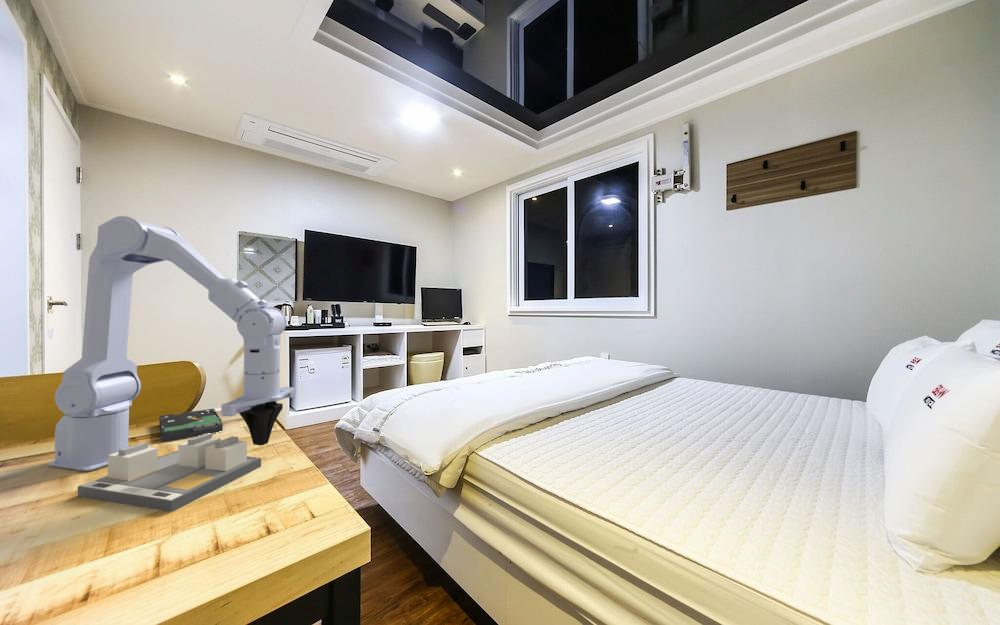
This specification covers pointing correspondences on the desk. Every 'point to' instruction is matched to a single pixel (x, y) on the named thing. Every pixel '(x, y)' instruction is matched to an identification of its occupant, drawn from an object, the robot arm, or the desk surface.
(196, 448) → the tab
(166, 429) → the disk drive
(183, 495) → the switch panel
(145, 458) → the tab
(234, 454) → the tab
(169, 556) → the desk surface
